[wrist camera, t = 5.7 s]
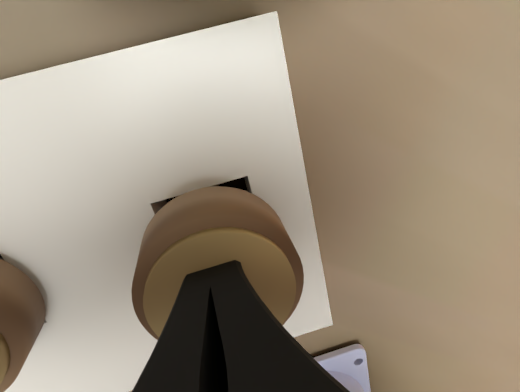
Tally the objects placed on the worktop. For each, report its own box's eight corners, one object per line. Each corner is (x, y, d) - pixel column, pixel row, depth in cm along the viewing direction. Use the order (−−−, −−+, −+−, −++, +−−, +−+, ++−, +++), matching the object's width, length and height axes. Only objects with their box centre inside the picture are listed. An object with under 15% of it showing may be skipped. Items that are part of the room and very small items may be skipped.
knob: (279, 246, 14) (318, 333, 10) (172, 279, 14) (166, 383, 9) (255, 143, 12) (290, 198, 8) (129, 179, 12) (97, 255, 8)
